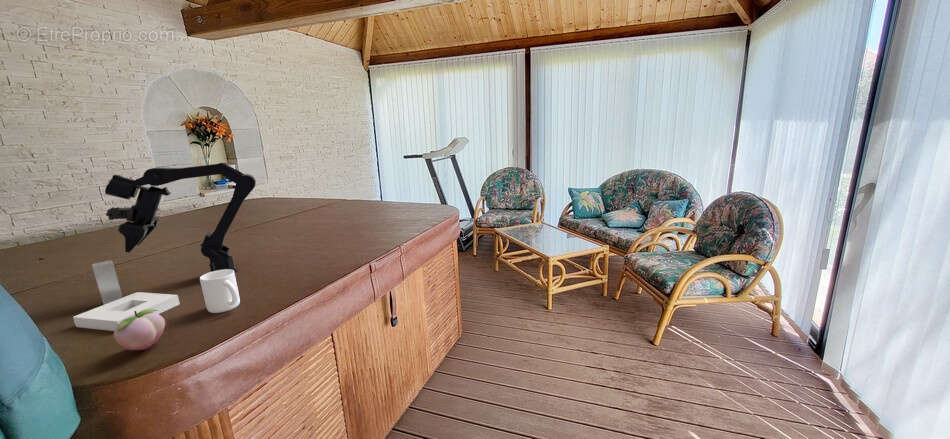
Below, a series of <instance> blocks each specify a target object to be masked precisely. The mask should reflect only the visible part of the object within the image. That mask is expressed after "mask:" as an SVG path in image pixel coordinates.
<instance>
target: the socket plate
mask: <svg viewBox="0 0 950 439" xmlns="http://www.w3.org/2000/svg"><path fill="white" fill-rule="evenodd" d="M122 297H123V298H121V299H118V300H115V301H113V302H110V303H108V304H105V305H104V304H103V305H100V306H98V307H97V306H96V307H94V308H93V309H89V310H88V311H84V312H82V313H79V314H77V315H75V316H72V318H73V321H74V325H75V327H76V328H82V329H90V330H91V329H92V330H101V331H102V330H103V331H110V332H114V330H115V328H116V326H117V325H118V324H119V323H120V322H121V321H122V320H123V319H125V318H127V317H129V316H131V315H134V314H135V313H134V311H136V313H138V312H140V311H143V310H146V309H156V310H158V311H153V313H157V314H159V315H161V314H162V313H163V312H166V311H168V310H170V309H173V308H175V307H177V306H179V305H180V300H179V295H178V294H170V293H169V294H168V293H166V294H165V293H156V292H155V293H154V292H153V293H152V292H144V291H143V292H142V291H141V292H140V291H139V292H138V291H137V292H134V293H131V294H129V295H126V296H122Z"/></svg>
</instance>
